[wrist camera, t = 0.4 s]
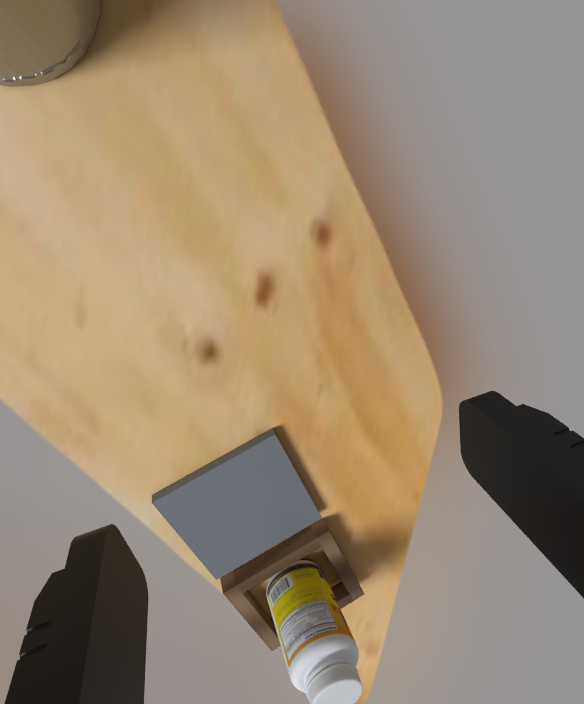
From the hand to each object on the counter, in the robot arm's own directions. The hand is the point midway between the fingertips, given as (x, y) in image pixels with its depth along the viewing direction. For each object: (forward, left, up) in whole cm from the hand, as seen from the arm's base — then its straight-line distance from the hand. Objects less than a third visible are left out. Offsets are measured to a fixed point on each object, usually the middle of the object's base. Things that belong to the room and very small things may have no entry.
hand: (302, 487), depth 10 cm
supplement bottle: (+28, -6, -20) cm, 35 cm away
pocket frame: (+28, -6, -20) cm, 35 cm away
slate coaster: (+17, -6, -20) cm, 27 cm away
